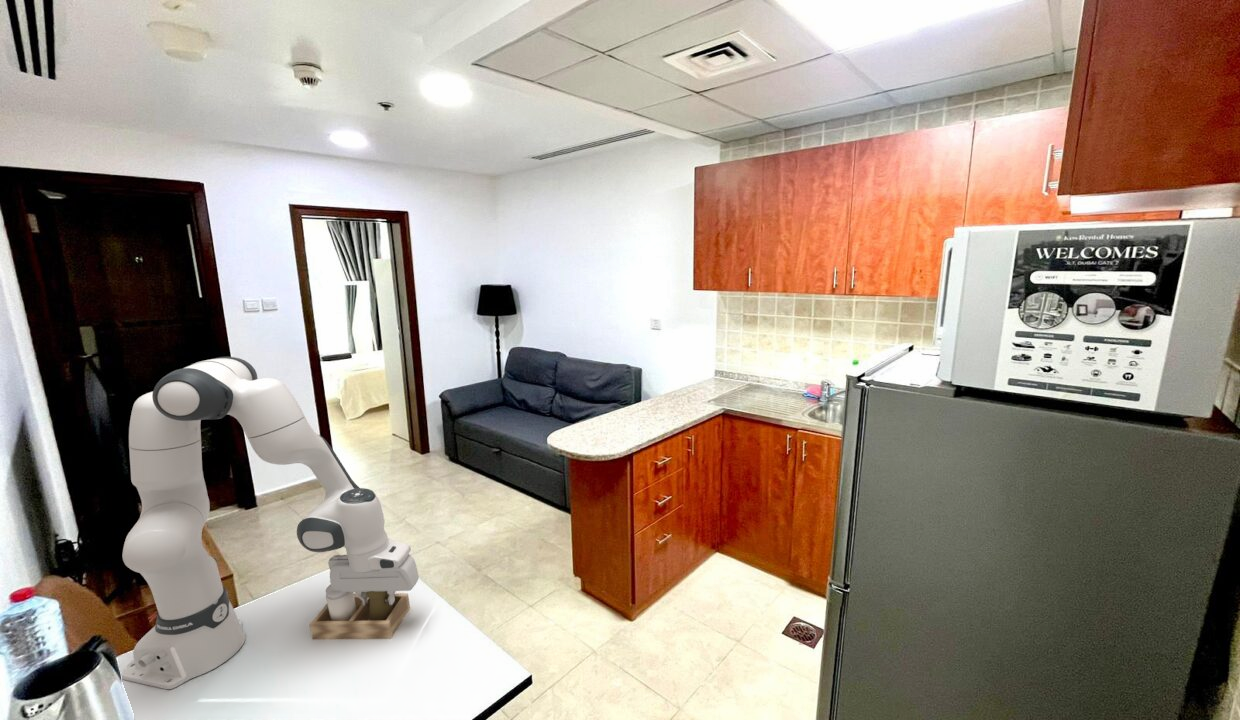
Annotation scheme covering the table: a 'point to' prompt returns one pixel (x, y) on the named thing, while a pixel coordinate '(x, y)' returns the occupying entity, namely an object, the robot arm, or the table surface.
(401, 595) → the caddy
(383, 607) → the cork
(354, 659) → the table surface
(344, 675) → the table surface
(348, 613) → the salt shaker
